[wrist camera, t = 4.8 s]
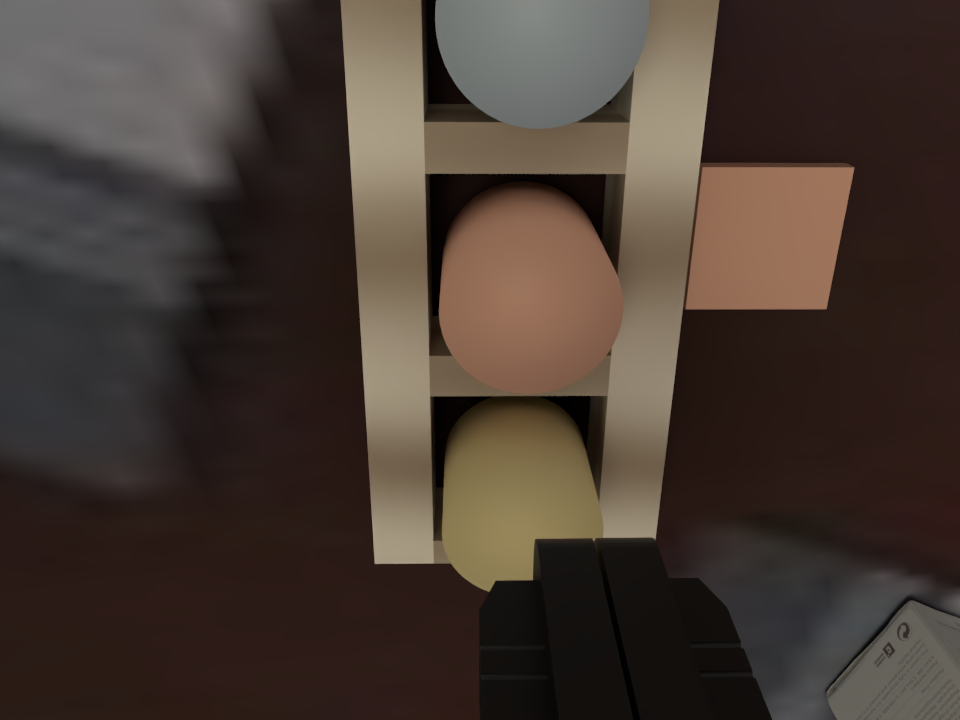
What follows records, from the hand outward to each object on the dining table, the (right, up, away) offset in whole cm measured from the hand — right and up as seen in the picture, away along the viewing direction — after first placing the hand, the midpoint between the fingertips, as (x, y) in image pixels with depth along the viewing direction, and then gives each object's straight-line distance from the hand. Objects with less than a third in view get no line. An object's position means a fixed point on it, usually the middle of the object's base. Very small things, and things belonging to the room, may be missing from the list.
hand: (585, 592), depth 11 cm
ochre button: (0, 0, +16) cm, 16 cm away
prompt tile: (+7, +7, +15) cm, 18 cm away
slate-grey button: (0, +12, +10) cm, 15 cm away
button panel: (0, +7, +15) cm, 16 cm away
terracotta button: (0, +6, +13) cm, 14 cm away
